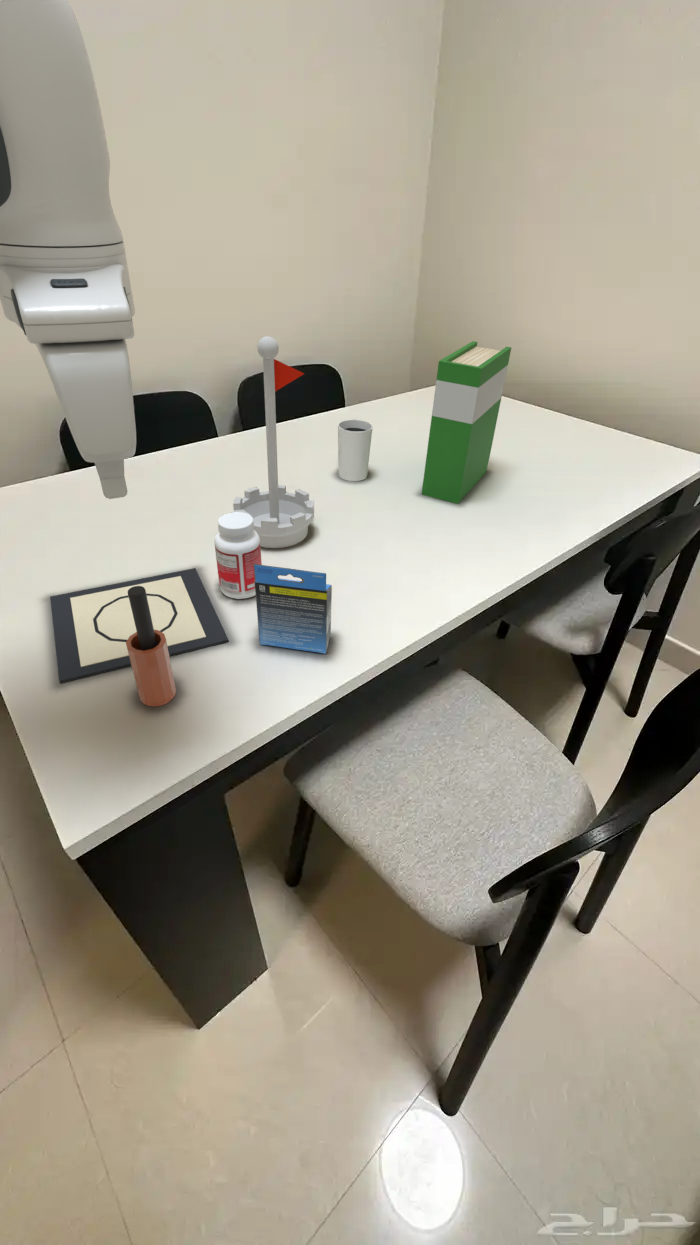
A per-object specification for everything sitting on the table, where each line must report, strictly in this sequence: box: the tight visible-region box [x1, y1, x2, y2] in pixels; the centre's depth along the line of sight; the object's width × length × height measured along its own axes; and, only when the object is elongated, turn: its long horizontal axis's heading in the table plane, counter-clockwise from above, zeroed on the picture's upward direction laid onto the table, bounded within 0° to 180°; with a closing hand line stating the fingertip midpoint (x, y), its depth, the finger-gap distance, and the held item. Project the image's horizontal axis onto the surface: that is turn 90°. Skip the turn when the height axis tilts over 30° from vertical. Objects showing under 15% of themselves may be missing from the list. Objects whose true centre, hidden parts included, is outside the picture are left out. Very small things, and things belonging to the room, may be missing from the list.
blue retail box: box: [253, 564, 333, 654], centre depth 71 cm, size 9×4×12 cm, turn 81°
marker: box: [128, 586, 157, 651], centre depth 62 cm, size 2×2×14 cm
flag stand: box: [232, 335, 315, 549], centre depth 88 cm, size 13×13×30 cm
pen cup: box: [126, 630, 177, 708], centre depth 64 cm, size 4×4×8 cm
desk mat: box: [49, 567, 229, 684], centre depth 77 cm, size 20×18×1 cm
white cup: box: [337, 419, 374, 482], centre depth 113 cm, size 7×7×10 cm
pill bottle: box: [213, 511, 263, 600], centre depth 81 cm, size 6×6×11 cm
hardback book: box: [421, 340, 512, 505], centre depth 108 cm, size 18×7×24 cm, turn 152°
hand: (108, 471), depth 50 cm, fingers open, 8 cm apart
